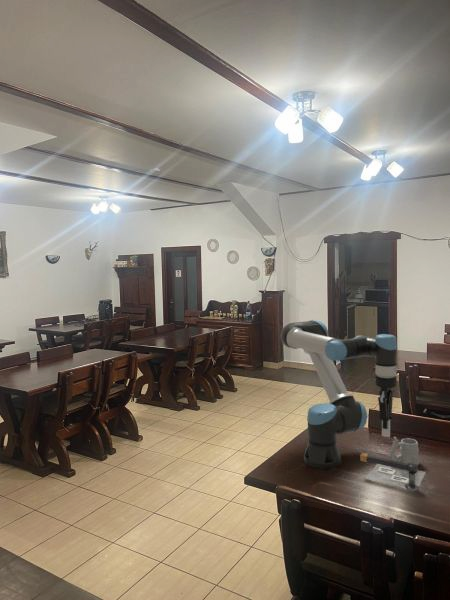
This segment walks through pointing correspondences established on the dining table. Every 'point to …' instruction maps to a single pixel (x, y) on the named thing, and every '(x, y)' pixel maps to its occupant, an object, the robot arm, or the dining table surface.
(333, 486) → the dining table surface
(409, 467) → the grey lever orange grip
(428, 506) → the dining table surface
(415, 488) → the grey metal knob
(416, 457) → the mug
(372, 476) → the plate
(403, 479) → the label right
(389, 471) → the label left
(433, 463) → the dining table surface
